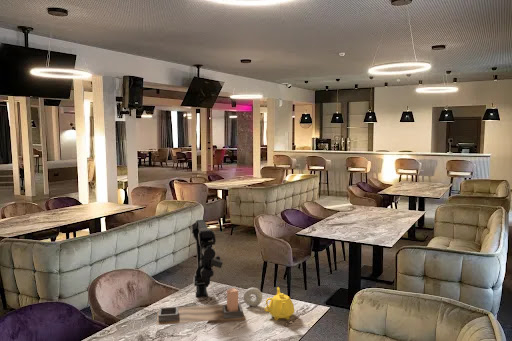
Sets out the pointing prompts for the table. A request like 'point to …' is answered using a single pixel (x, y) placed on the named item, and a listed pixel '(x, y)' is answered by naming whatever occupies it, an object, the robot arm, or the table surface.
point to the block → (232, 300)
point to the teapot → (280, 306)
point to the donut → (250, 301)
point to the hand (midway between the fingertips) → (206, 283)
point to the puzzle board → (199, 314)
